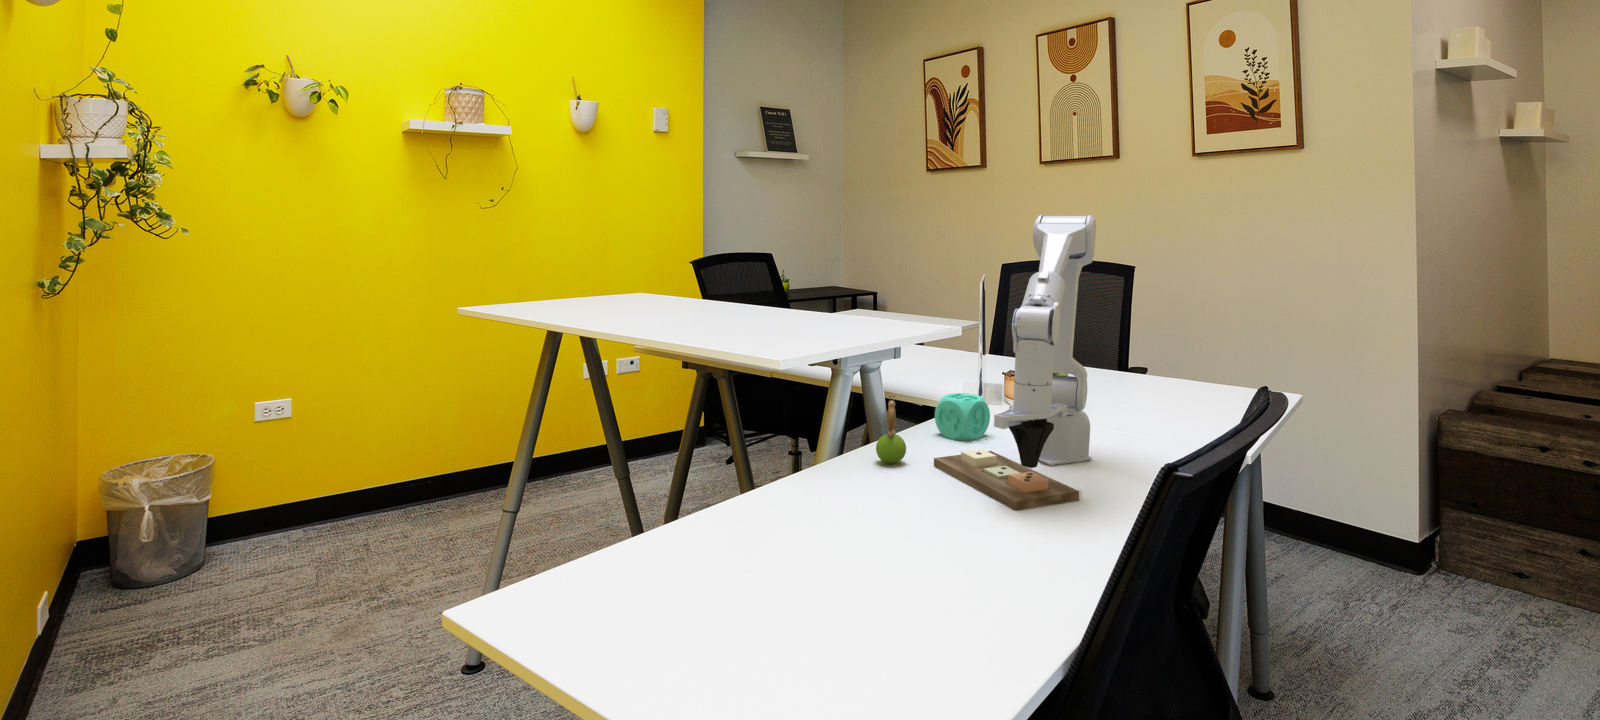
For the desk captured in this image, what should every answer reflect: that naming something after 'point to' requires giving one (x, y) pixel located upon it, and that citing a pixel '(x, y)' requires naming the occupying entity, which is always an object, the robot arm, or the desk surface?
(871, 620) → the desk surface
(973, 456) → the cream button
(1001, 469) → the sage button
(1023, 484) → the terracotta button
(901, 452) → the green wooden maraca
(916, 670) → the desk surface
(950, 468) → the button board
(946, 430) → the decorative dice
